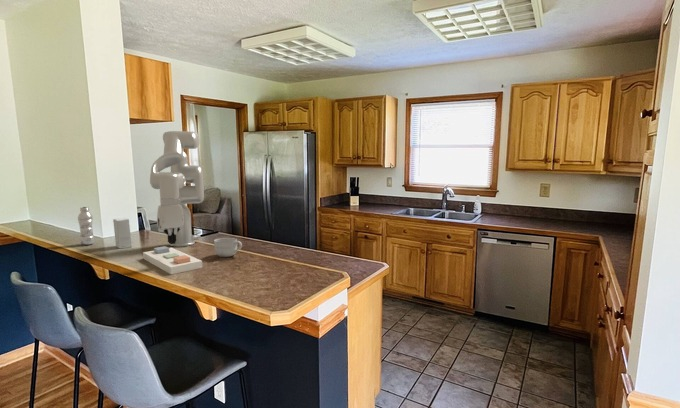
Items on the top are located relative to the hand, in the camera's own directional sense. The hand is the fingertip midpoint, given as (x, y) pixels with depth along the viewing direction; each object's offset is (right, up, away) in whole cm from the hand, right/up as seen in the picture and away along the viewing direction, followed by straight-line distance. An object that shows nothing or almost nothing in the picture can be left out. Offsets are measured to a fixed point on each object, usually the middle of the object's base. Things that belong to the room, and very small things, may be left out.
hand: (172, 243), depth 158 cm
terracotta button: (+7, -7, -5) cm, 11 cm away
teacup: (+20, -8, +15) cm, 26 cm away
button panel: (-1, -9, +3) cm, 10 cm away
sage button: (-1, -7, +2) cm, 8 cm away
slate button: (-9, -5, +10) cm, 15 cm away
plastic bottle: (-61, -5, +34) cm, 70 cm away
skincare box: (-40, -5, +30) cm, 50 cm away
